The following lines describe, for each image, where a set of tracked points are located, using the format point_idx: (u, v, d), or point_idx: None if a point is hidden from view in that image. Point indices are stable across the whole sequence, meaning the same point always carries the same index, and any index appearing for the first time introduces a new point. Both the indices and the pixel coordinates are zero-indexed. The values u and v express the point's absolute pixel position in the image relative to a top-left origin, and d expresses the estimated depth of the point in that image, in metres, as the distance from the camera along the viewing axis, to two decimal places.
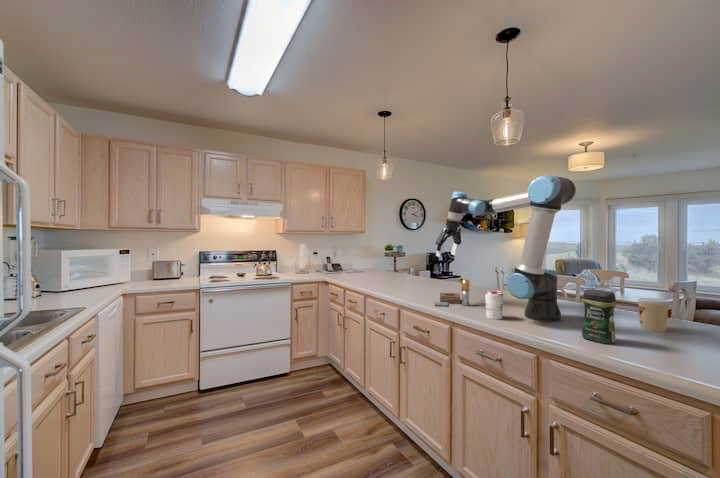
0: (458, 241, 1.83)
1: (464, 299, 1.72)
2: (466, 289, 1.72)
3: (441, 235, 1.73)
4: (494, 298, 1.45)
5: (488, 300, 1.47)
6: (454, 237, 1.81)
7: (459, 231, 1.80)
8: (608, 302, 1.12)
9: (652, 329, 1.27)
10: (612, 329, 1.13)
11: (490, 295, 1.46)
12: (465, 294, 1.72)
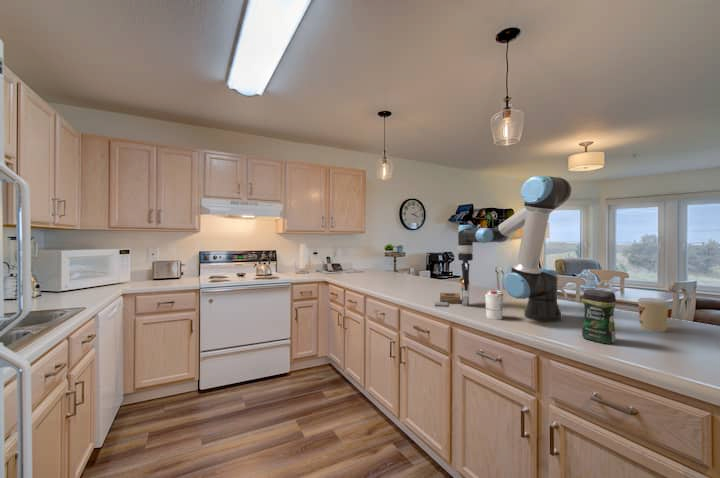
0: None
1: (464, 299, 1.72)
2: None
3: (466, 274, 1.68)
4: (494, 298, 1.45)
5: (488, 300, 1.47)
6: None
7: None
8: (608, 302, 1.12)
9: (652, 329, 1.27)
10: (612, 329, 1.13)
11: (490, 295, 1.46)
12: None
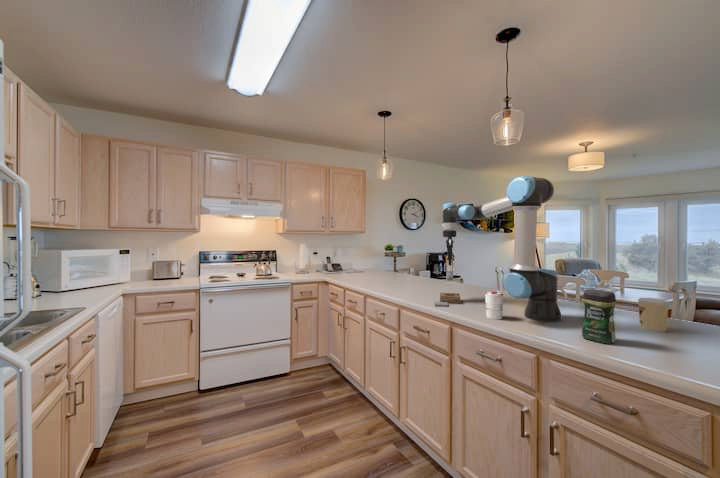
0: None
1: (448, 273, 1.82)
2: None
3: (450, 249, 1.78)
4: (494, 298, 1.45)
5: (488, 300, 1.47)
6: None
7: None
8: (608, 302, 1.12)
9: (652, 329, 1.27)
10: (612, 329, 1.13)
11: (490, 295, 1.46)
12: None
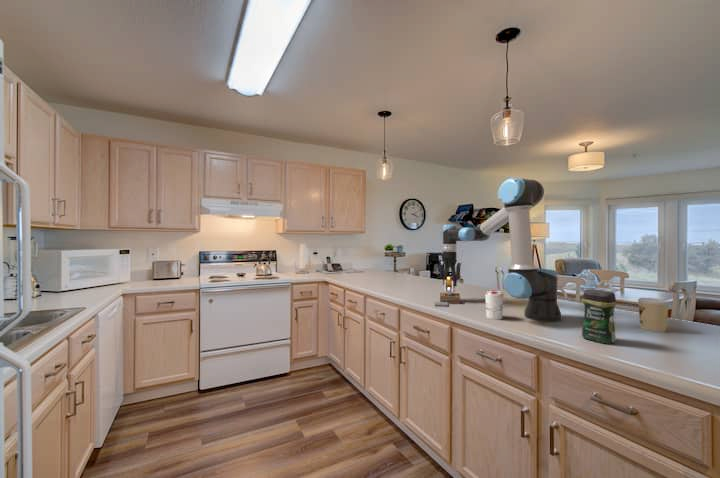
0: None
1: (451, 295, 1.82)
2: None
3: (459, 270, 1.80)
4: (494, 298, 1.45)
5: (488, 300, 1.47)
6: (447, 270, 1.85)
7: (442, 264, 1.88)
8: (608, 302, 1.12)
9: (652, 329, 1.27)
10: (612, 329, 1.13)
11: (490, 295, 1.46)
12: None
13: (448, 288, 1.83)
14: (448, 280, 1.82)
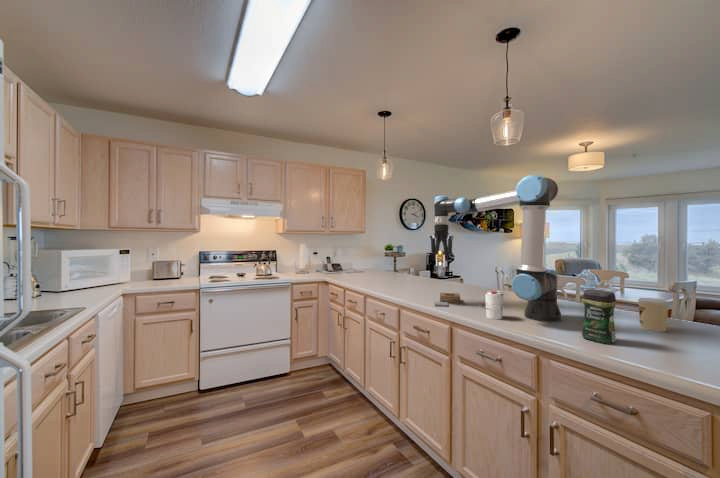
0: None
1: (443, 269, 1.74)
2: None
3: (451, 243, 1.71)
4: (494, 298, 1.45)
5: (488, 300, 1.47)
6: (439, 244, 1.77)
7: (434, 238, 1.80)
8: (608, 302, 1.12)
9: (652, 329, 1.27)
10: (612, 329, 1.13)
11: (490, 295, 1.46)
12: None
13: (440, 263, 1.74)
14: (440, 254, 1.74)
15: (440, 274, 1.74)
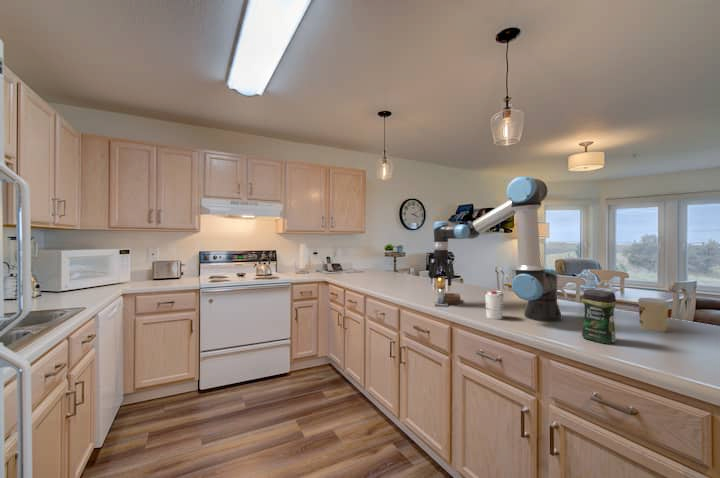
0: None
1: (443, 297, 1.74)
2: (444, 287, 1.74)
3: (452, 268, 1.70)
4: (494, 298, 1.45)
5: (488, 300, 1.47)
6: (437, 269, 1.77)
7: None
8: (608, 302, 1.12)
9: (652, 329, 1.27)
10: (612, 329, 1.13)
11: (490, 295, 1.46)
12: None
13: (439, 290, 1.74)
14: (439, 281, 1.74)
15: (440, 301, 1.74)
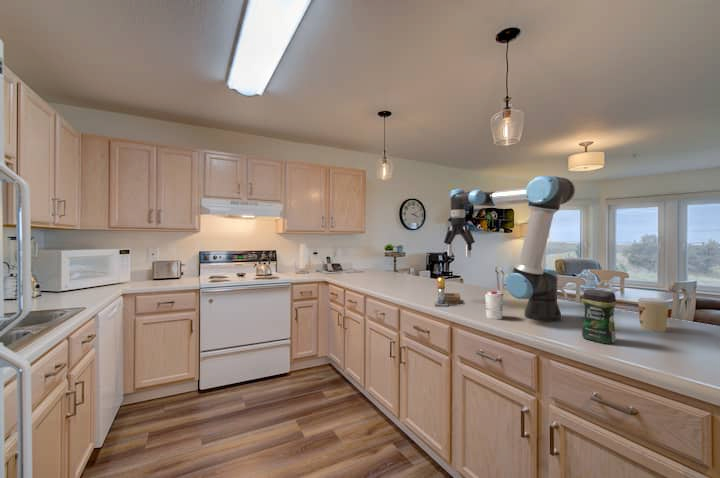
0: None
1: (443, 297, 1.74)
2: (444, 286, 1.74)
3: (469, 233, 1.68)
4: (494, 298, 1.45)
5: (488, 300, 1.47)
6: (453, 236, 1.78)
7: None
8: (608, 302, 1.12)
9: (652, 329, 1.27)
10: (612, 329, 1.13)
11: (490, 295, 1.46)
12: (443, 291, 1.74)
13: (439, 290, 1.74)
14: (439, 281, 1.74)
15: (440, 301, 1.74)
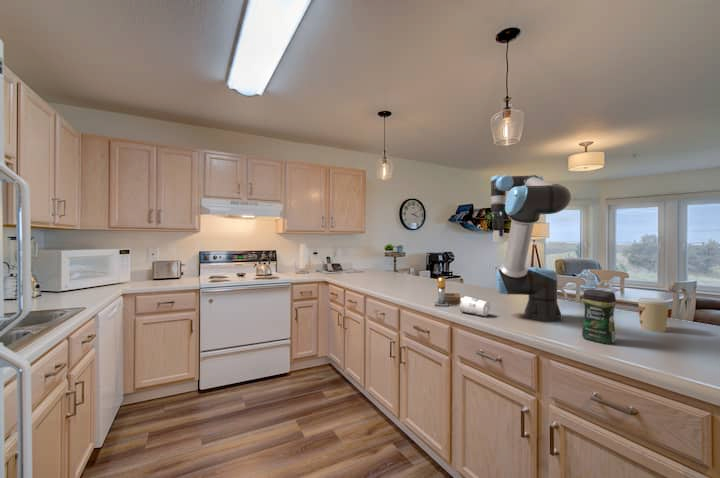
0: (498, 227, 1.82)
1: (443, 297, 1.74)
2: (444, 286, 1.74)
3: (501, 219, 1.68)
4: (463, 302, 1.56)
5: (466, 309, 1.55)
6: (497, 223, 1.79)
7: None
8: (608, 302, 1.12)
9: (652, 329, 1.27)
10: (612, 329, 1.13)
11: (461, 305, 1.56)
12: (444, 291, 1.74)
13: (439, 290, 1.74)
14: (439, 281, 1.74)
15: (440, 301, 1.74)
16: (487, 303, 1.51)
